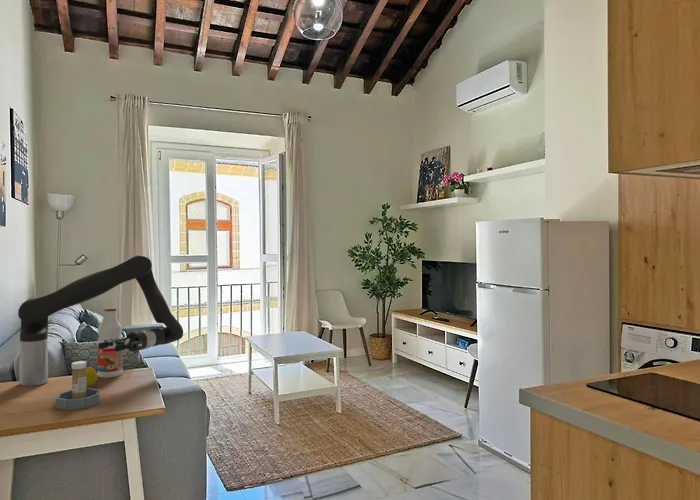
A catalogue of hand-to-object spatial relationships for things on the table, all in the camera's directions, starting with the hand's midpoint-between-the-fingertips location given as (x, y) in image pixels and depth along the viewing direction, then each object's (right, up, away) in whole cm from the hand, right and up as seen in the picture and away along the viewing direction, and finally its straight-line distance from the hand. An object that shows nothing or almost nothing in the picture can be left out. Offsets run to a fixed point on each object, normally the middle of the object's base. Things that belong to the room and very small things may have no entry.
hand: (107, 347), depth 191 cm
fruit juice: (-10, -16, +25) cm, 31 cm away
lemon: (-10, -17, +7) cm, 21 cm away
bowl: (-4, -17, -12) cm, 21 cm away
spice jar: (-4, -16, -12) cm, 21 cm away
